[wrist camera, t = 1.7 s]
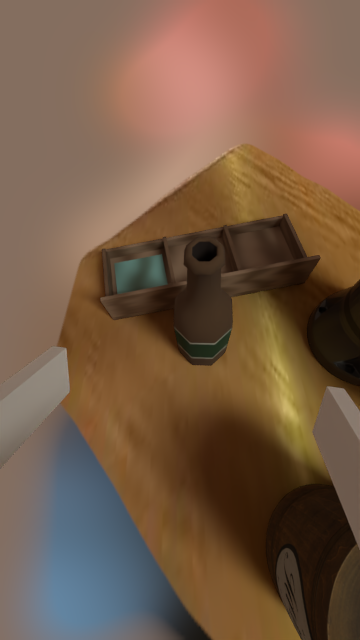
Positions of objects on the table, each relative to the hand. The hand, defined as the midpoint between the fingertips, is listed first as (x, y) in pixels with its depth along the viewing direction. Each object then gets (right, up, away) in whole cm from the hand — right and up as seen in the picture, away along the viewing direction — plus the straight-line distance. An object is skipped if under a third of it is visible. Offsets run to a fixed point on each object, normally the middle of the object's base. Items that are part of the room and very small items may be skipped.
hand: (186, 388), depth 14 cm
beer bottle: (+3, -1, +31) cm, 31 cm away
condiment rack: (+4, +13, +36) cm, 39 cm away
